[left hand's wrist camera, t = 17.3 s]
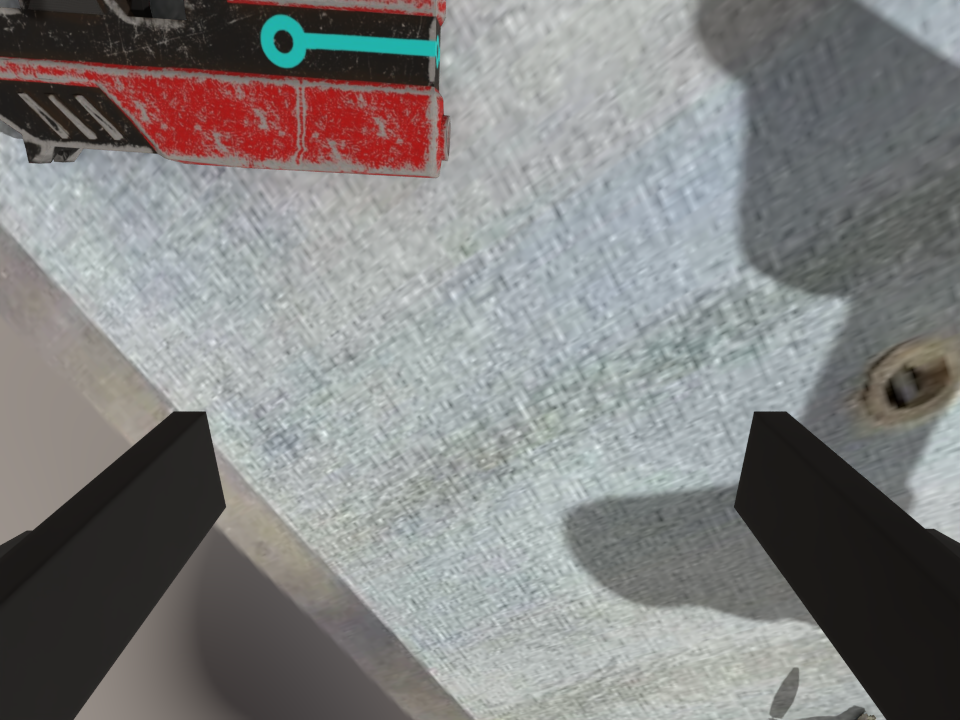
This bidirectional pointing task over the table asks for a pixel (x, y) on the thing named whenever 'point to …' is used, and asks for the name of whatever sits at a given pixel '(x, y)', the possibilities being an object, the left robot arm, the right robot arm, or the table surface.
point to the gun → (230, 83)
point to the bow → (866, 717)
